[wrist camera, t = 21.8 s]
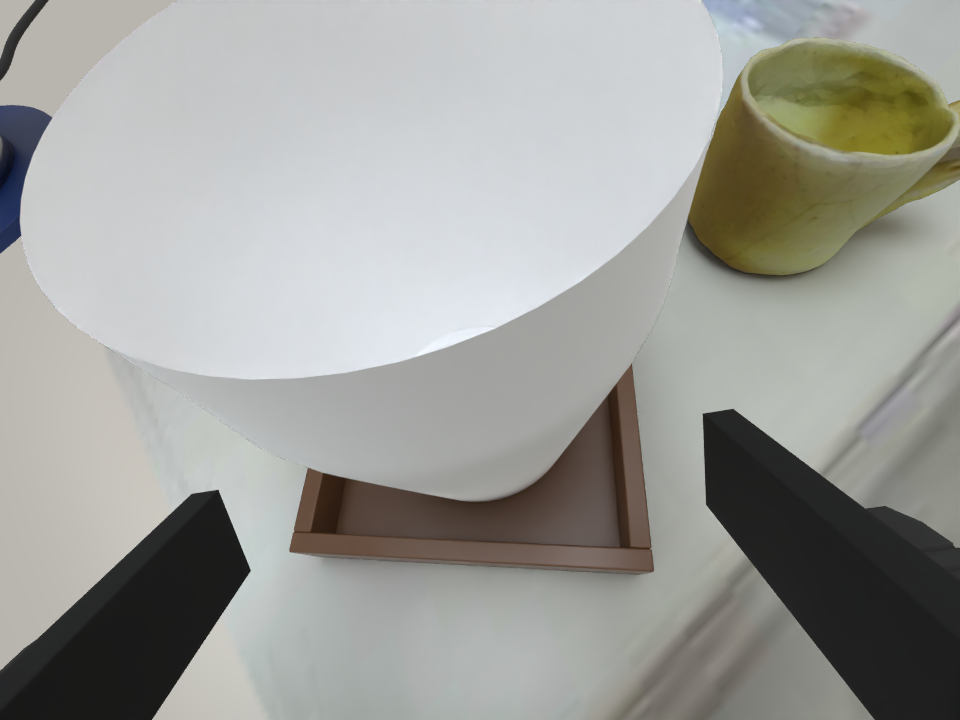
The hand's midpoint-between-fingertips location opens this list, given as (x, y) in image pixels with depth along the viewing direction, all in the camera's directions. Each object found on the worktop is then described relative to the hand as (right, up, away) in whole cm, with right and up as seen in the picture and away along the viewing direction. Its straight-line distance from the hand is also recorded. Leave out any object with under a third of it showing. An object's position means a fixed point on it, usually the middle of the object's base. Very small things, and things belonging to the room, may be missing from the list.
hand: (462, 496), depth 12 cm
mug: (+19, +12, +15) cm, 27 cm away
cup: (0, +1, +11) cm, 11 cm away
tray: (0, +1, +12) cm, 12 cm away
